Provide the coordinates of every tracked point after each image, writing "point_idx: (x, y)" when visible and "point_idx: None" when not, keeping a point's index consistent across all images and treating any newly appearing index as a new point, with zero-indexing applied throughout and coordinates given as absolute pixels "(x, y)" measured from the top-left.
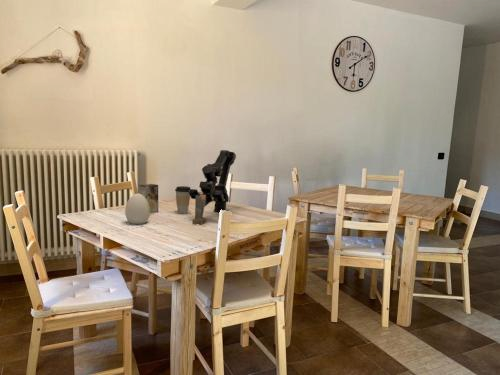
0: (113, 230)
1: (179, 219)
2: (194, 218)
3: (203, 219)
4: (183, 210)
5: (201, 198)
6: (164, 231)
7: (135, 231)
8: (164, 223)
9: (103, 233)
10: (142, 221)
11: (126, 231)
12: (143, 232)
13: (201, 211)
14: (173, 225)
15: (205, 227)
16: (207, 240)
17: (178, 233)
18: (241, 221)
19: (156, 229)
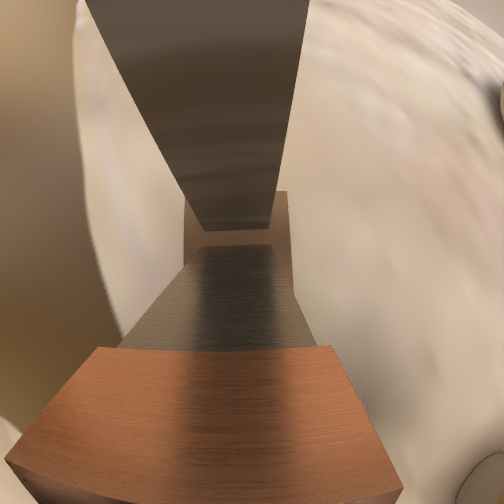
0: (469, 26)
1: (448, 304)
2: (288, 236)
3: (184, 249)
4: (488, 474)
5: (110, 37)
6: (330, 22)
7: (418, 16)
8: (450, 149)
9: (455, 4)
10: (500, 98)
11: (437, 16)
12: (387, 7)
13: (210, 260)
14: (379, 121)
15: (139, 167)
16: (92, 20)
17: None
18: (7, 442)
19: (385, 40)
